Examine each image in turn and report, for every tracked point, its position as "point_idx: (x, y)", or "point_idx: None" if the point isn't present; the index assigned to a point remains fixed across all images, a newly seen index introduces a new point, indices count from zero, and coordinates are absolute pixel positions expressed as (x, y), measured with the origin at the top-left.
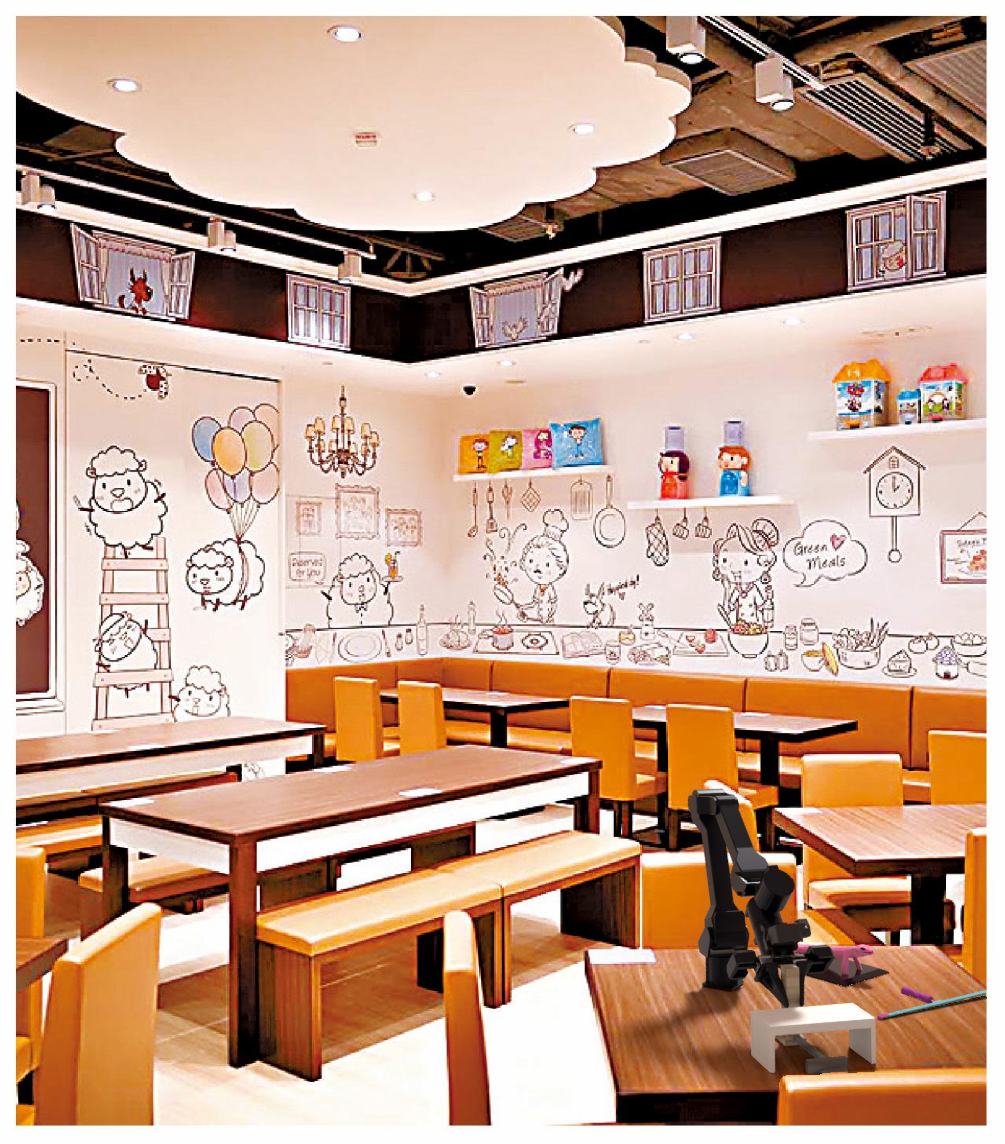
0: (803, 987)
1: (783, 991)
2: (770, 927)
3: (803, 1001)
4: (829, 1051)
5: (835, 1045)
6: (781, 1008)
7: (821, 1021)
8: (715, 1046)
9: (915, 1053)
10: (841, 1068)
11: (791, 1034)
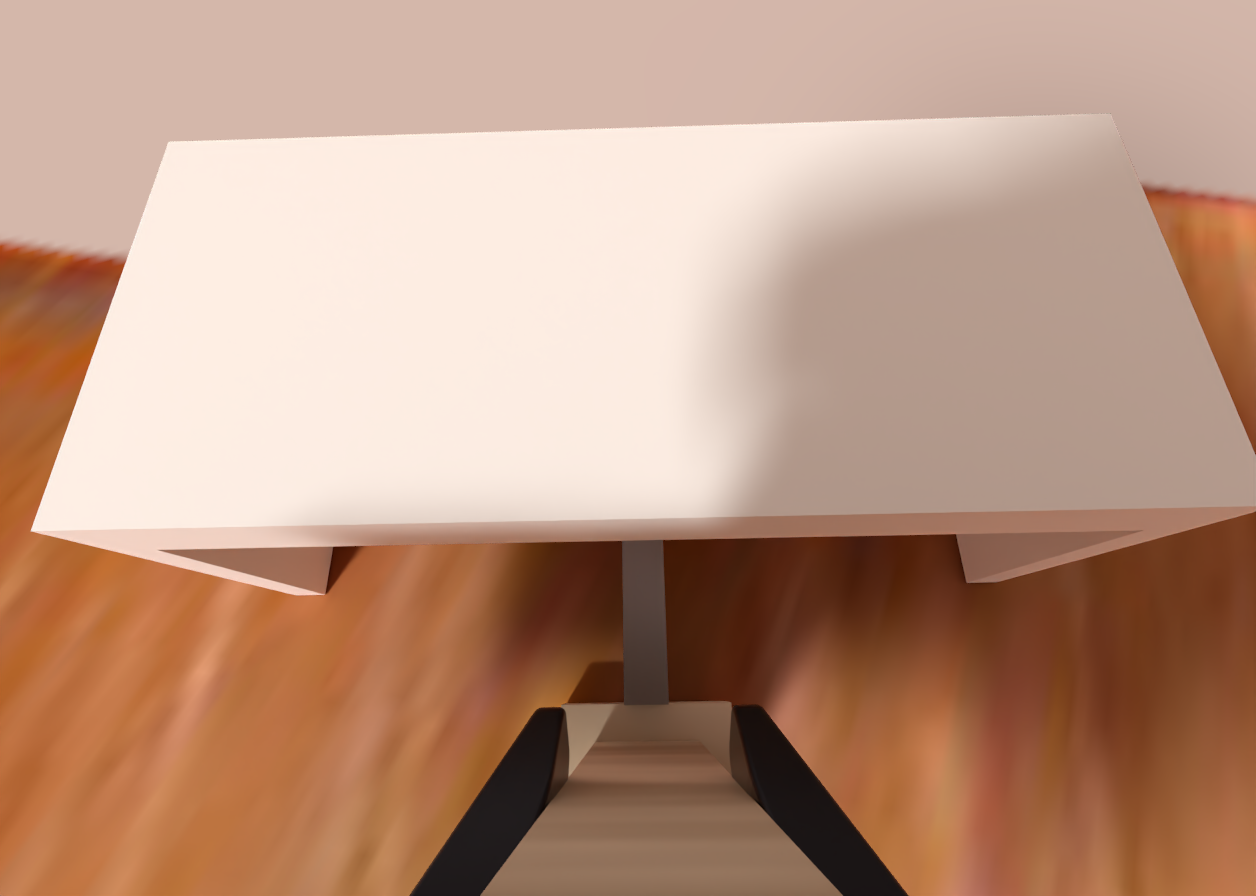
0: (425, 893)
1: (814, 848)
2: None
3: (533, 724)
4: (483, 551)
5: (389, 643)
6: (897, 512)
7: (636, 147)
8: (1240, 809)
9: (40, 430)
10: None
11: (666, 742)
